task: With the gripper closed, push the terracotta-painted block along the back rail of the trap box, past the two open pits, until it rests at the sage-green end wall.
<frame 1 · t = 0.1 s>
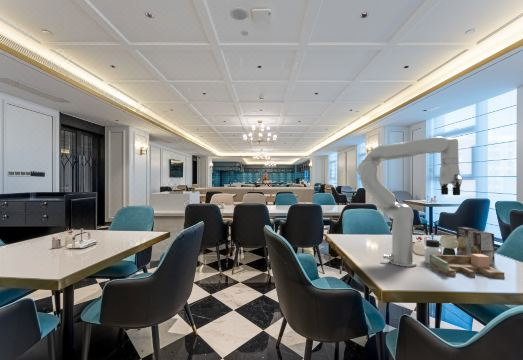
hand: (450, 194, 133), 37 cm above the table, tool pointing down, fingers open, 9 cm apart
trap box: (464, 271, 122), on the table
coffee box: (482, 262, 138), on the table
character mug: (449, 259, 143), on the table
coffee box 2: (467, 255, 152), on the table
medicine bottle: (432, 262, 138), on the table
block: (480, 265, 124), point 2 cm above the table, touching trap box
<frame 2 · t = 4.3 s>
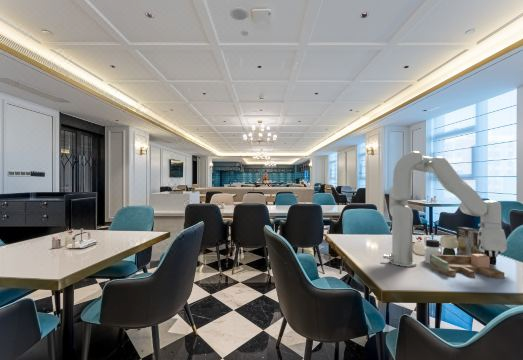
hand: (491, 264, 123), 3 cm above the table, tool pointing down, fingers closed
block: (480, 265, 124), point 3 cm above the table, touching gripper, trap box
everything else where it was.
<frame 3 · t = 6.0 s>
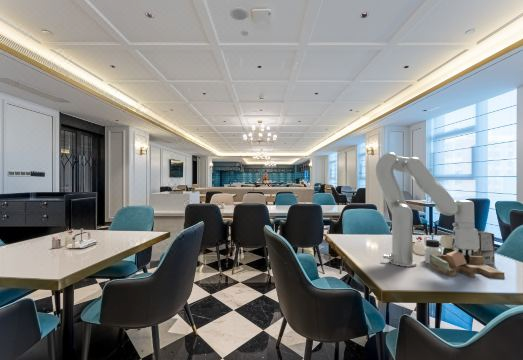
hand: (465, 262, 125), 4 cm above the table, tool pointing down, fingers closed
block: (457, 263, 125), point 3 cm above the table, tilted 19°, touching gripper
everything else where it was.
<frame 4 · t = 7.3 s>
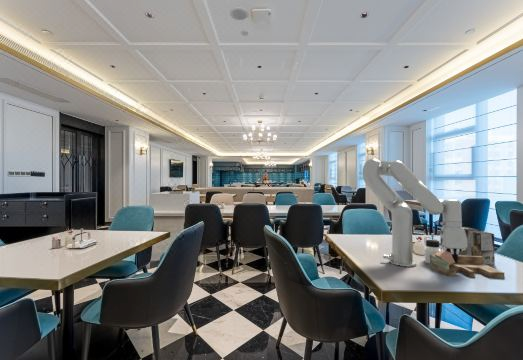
hand: (453, 261, 125), 4 cm above the table, tool pointing down, fingers closed
block: (446, 262, 125), point 4 cm above the table, tilted 23°, touching gripper, trap box
everything else where it was.
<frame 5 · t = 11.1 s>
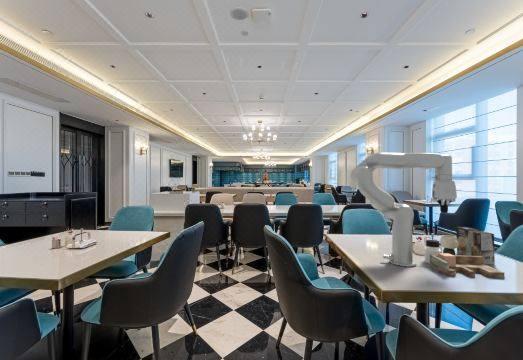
hand: (444, 212, 135), 27 cm above the table, tool pointing down, fingers closed
block: (446, 264, 125), point 2 cm above the table, touching trap box
everything else where it was.
at the end: block 1.1 cm from the target spot on the trap box, point 2.5 cm above the trap box's base; block tilted 0° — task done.
